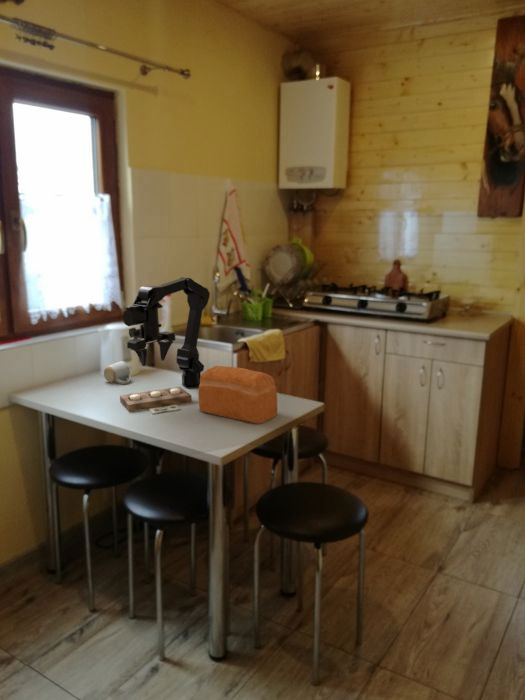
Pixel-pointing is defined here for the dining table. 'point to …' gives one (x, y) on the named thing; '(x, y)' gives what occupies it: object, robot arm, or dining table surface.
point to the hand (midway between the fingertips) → (153, 363)
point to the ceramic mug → (117, 373)
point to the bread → (238, 394)
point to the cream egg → (134, 397)
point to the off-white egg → (155, 394)
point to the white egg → (175, 391)
